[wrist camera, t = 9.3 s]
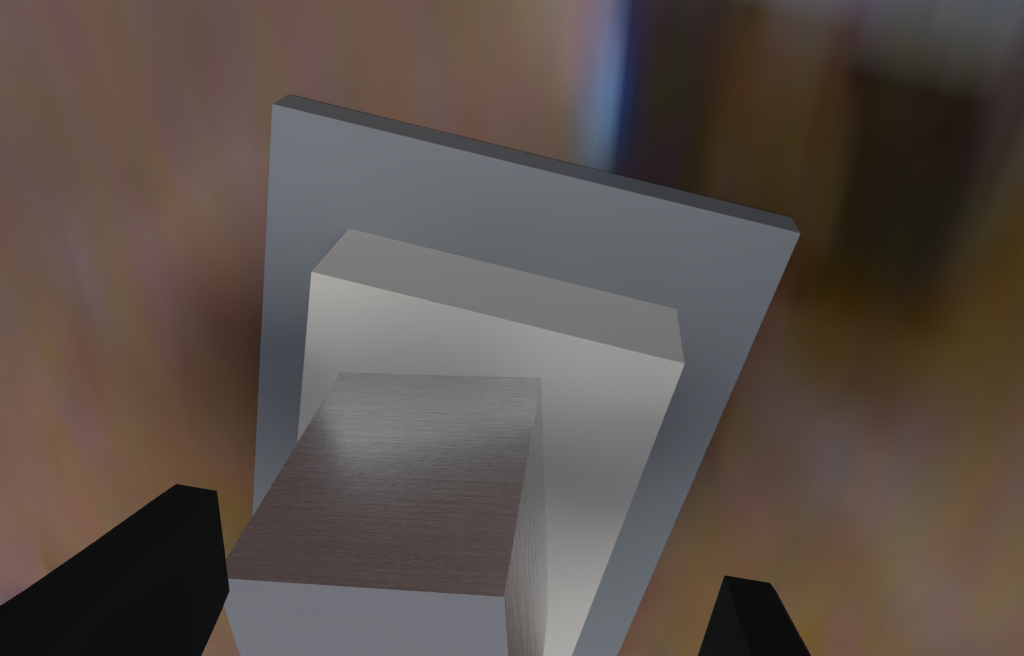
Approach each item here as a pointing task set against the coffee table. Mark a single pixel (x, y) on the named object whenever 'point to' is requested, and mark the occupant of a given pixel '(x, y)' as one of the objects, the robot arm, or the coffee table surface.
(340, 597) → the block
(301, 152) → the display stand
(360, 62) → the coffee table surface
